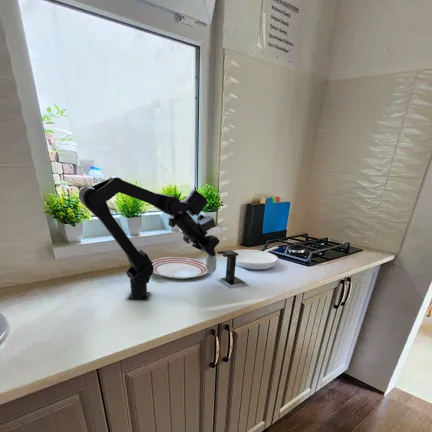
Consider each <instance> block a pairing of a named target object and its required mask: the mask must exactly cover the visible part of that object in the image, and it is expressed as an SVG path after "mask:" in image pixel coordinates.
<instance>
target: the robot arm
mask: <svg viewBox="0 0 432 432" xmlns="http://www.w3.org/2000/svg"><path fill="white" fill-rule="evenodd" d="M118 194H122V195H125V196H128V197H130V198H132V199H133V198H134V199H136V200H139V201H141V202H144V203H147V204H150V205H151V206H153V207H154V208H155V209H156V210H157V209H158V210H159V211H160V212H162V213H164V214H167V215H169V216H171V217H168V225H167V226H169V227H171V228H174V227H175V226H177V227H178V229H179V230H180V231H181V233H182V234H183V236H182V240H183V241H184V243H186V244H188V245H190V244H192V245H191V246H192V247H193V248H195V249H196V250H199V251H201V252H203V253H205V254H207V255H209V254H210V255H212V256H216V255H217V252H216V250H215V251H214V248H215V249H216V247H217V246H218V245H219V244H220V243H221V242H220V239H219V238H218V237H217V236H215V235H213V234H209V235H207V234H208V231H210V230H211V229H213V228H216V227H217V226H216V221H215V219H214V216H211V215H204V214H201V213H202V211H203V210H204V209H205V208H206V207H207V205H208V204H209V202H208V199H207V198H206V197H205V196H204V195H202V194H201V192H199V191H198V190H197V189H195V188H193V189H191V191H190V192H189V194H188V196H187V197H186V198H185V199H184V200H183V199H180V198H178V197H175V196H173V195H170V194H164V193H159V192H153V191H151V190H148V189H145V188H143V187H141V186H138V185H136V184H133V183H131V182H128V181H126V180H123V179H122V178H121V177H118V176H113V175H112V176H110V177H109V178H107V179H106V180H103V181H101V182H99V183H96V184H94V185H92V186H89V185H88V186H84V187H82V188H81V189H80V190H79V193H78V199H79V201H80V203H81V204H82V205H83V206H84V207H85V208H86V209H87V210H88V211H89V212H91V214H93V216H95V217H96V218H97V219H98V220H99V222H100V223H102V225H103V227H105V229H106V230H107V231H108V233H109V234H110V236H111V237H112V238H113V239H114V241H115V242H116V243H117V245H118V246H119V247H120V249H121V250H122V251H123V252H124V254H125V256H126V257H127V260H128V262H129V264H130V266H129V268H128V269H127V271H125V274H126V275H127V277H128V278H129V279H130V280H129V283H130V284H129V285H130V295H129V296H128V300H142V301H143V300H144V301H146V300H148V299H149V296H150V294H151V293H150V291H148V284H149V282H150V280H151V276H152V275H153V274H154V273H153V271H154V267H153V265H152V264H153V262H152V261H153V260H151V259H150V257H149V254H147V253H146V252H145V251H143V250H142V249H139V250H138V249H137V247H136V246H135V245H134V244H133V242H132V241H131V239H130V238H129V237H128V235H127V233H125V231H124V229H123V228H122V227H121V226H120V225H119V223H118V221H116V218H115V217H114V216H113V215H112V212H111V210H110V208H109V205H108V201H110V200H111V199H113V198H114V197H115V196H116V195H118ZM194 216H196V217H197V219H196V220H194V218H193V217H194Z"/></svg>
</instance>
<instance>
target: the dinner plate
mask: <svg viewBox="0 0 432 432" xmlns="http://www.w3.org/2000/svg"><path fill="white" fill-rule="evenodd" d="M151 261H152V262H153V264H152V265H153V267H154V271H153V274H155V275H157V276H160V277H163V278H168V279H172V280H173V279H174V280H187V279H188V280H189V279H195V278H198V277H199V278H200V277H201V276H204V275H207V274H208V273H209V272H208V271H207V270H206V262H204V261H202V260H198V259H195V258H190V257H181V256H167V257H166V256H165V257H160V258H156V259H153V260H151ZM188 270H195V271H197V272H198V273H197V274H195V275H193V276H174V273H173V272H179V271H188Z"/></svg>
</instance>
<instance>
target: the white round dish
mask: <svg viewBox="0 0 432 432" xmlns="http://www.w3.org/2000/svg"><path fill="white" fill-rule="evenodd" d="M279 248H280V247H279V246H273V247H270V248H267V249H264V250H258V249H236V250H233V251H234V252H236V253H238V256H236V265H235V267H236V266H237V267H238V268H239V267H240V268H241V269H245V270H247V269H248V270H257V271H261V270H268V269H271V268H273V267H275V266H276V265H277V264H278V263H279V257H278V256H277V255H276V254H273V253H271V251H274V250H277V249H279Z"/></svg>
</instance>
